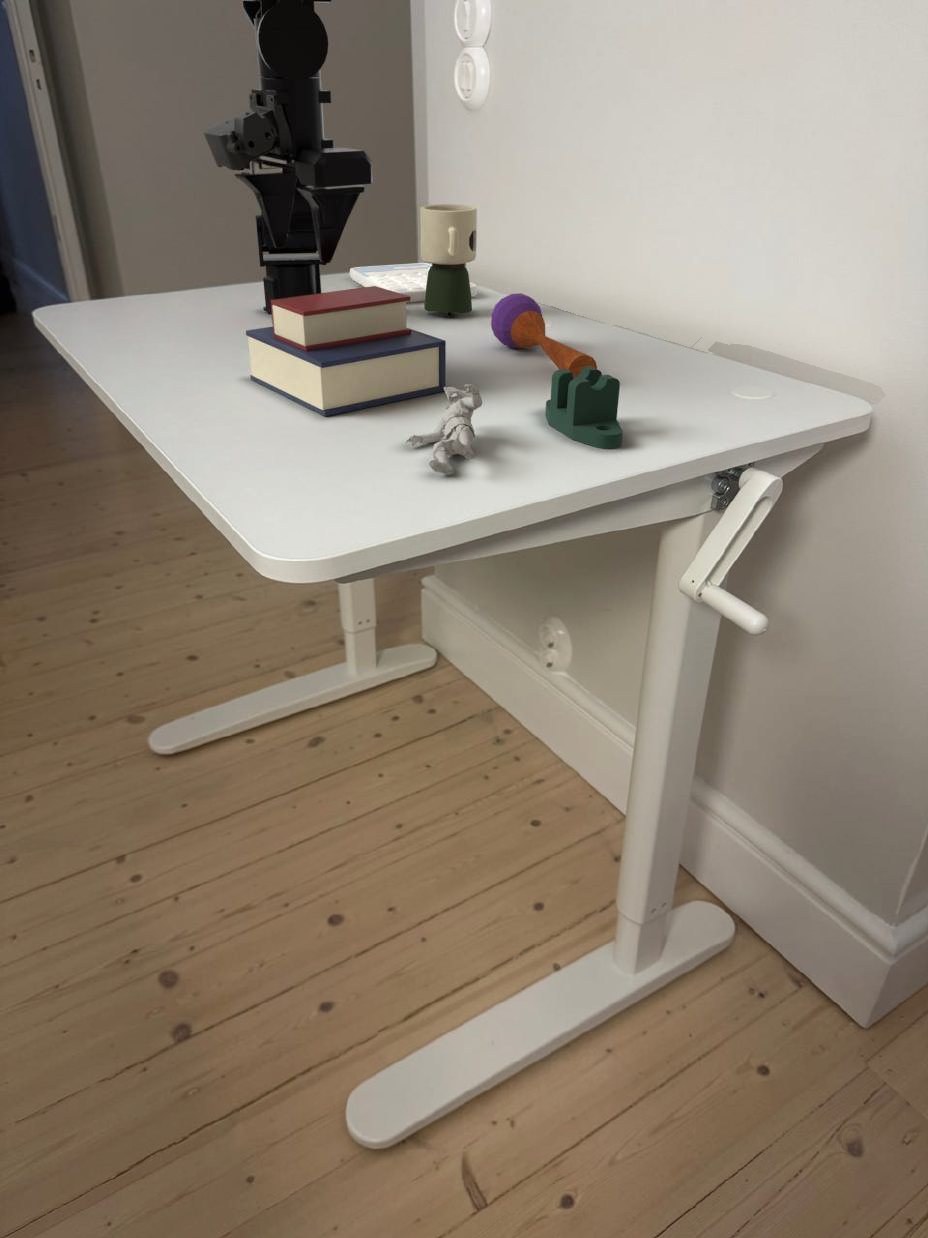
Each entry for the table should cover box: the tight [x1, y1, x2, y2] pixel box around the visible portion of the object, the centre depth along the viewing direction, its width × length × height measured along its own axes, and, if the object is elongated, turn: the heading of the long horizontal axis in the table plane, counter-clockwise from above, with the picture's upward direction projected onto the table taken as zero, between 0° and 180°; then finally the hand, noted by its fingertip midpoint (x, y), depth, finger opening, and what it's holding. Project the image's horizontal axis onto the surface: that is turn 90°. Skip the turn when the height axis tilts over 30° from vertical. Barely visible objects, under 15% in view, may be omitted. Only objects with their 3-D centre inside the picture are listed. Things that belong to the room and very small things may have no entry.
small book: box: [271, 286, 412, 351], centre depth 94 cm, size 12×6×4 cm, turn 128°
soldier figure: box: [405, 383, 483, 476], centre depth 80 cm, size 8×5×12 cm
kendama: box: [490, 292, 598, 378], centre depth 104 cm, size 6×6×20 cm
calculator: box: [349, 262, 479, 303], centre depth 140 cm, size 13×20×2 cm, turn 23°
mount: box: [544, 366, 624, 450], centre depth 85 cm, size 11×4×5 cm, turn 24°
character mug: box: [419, 203, 478, 317], centre depth 122 cm, size 11×7×13 cm, turn 8°
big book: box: [245, 326, 447, 417], centre depth 96 cm, size 14×15×5 cm
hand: (302, 254), depth 97 cm, fingers open, 9 cm apart
